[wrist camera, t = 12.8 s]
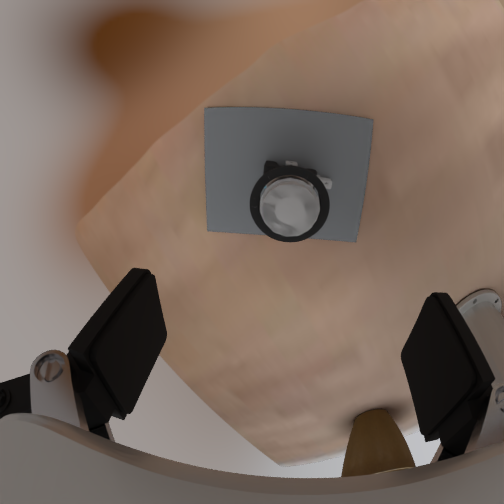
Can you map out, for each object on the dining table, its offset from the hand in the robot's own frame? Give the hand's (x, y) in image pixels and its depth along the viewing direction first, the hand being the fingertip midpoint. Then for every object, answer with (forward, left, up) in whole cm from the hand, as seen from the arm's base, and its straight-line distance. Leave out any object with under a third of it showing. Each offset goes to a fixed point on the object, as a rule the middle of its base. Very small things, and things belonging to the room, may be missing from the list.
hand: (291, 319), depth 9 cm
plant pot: (-23, +46, -21) cm, 56 cm away
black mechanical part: (-1, 0, -20) cm, 20 cm away
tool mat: (0, 0, -21) cm, 21 cm away
